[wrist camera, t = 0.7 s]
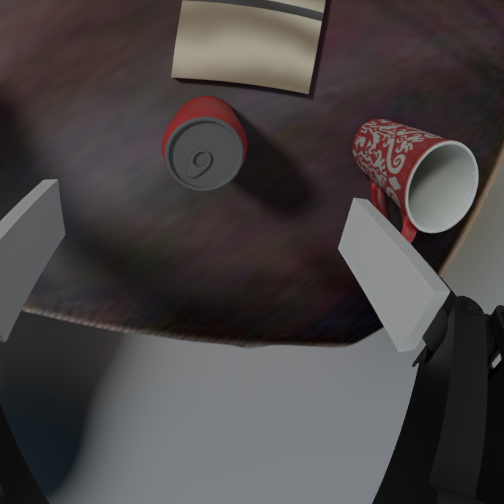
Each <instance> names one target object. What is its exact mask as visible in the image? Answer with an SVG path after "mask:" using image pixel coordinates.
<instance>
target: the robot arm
mask: <svg viewBox="0 0 504 504" xmlns="http://www.w3.org/2000/svg"><path fill="white" fill-rule="evenodd" d="M64 236H65V229H64V222H63V216H62V208H61V201H60V193H59V183H58V179H49V180H43V181H42V182H41V183H39V184H38V185H37V186H36V187H35V188H34V189H33V190H32V191H31V192H30V193H28V194H27V195H26V196H25V197H24V198H23V199H22V200H21V201H20V202H19V203H18V204H17V205H16V206H15V207H14V208H13V209H12V210H11V211H10V212H9V213H8V214H7V215H6V216H5V217H4V218H3V219H2V220H1V221H0V341H2V342H6V340H7V338H8V335H9V333H10V331H11V329H12V327H13V325H14V323H15V321H16V319H17V317H18V315H19V313H20V311H21V309H22V307H23V306H24V304H25V302H26V300H27V298H28V296H29V294H30V292H31V291H32V289H33V287H34V285H35V284H36V282H37V280H38V278H39V277H40V275H41V273H42V271H43V270H44V268H45V266H46V265H47V263H48V261H49V260H50V258H51V257H52V255H53V253H54V252H55V250H56V249H57V247H58V246H59V244H60V242H61V241H62V239H63V238H64ZM338 250H339V251H340V253H341V254H342V256H343V258H344V259H345V261H346V262H347V264H348V266H349V267H350V269H351V271H352V272H353V274H354V276H355V277H356V279H357V281H358V282H359V284H360V286H361V287H362V289H363V291H364V292H365V294H366V296H367V297H368V299H369V301H370V303H371V304H372V306H373V308H374V309H375V311H376V313H377V315H378V316H379V318H380V320H381V322H382V324H383V325H384V327H385V329H386V331H387V333H388V334H389V336H390V338H391V340H392V342H393V343H394V345H395V347H396V349H397V351H398V352H404V351H410V350H414V349H415V348H416V346H417V345H418V343H419V342H420V340H421V339H422V338H423V340H424V341H425V343H426V346H425V347H424V349H423V350H422V352H421V353H420V355H419V356H418V357H417V359H416V360H415V361H414V363H413V365H412V366H413V367H415V365H416V364H417V363H419V367H418V371H417V375H416V380H415V383H414V387H413V391H412V395H411V398H410V402H409V406H408V409H407V412H406V416H405V419H404V422H403V426H402V429H401V432H400V435H399V438H398V441H397V444H396V447H395V449H394V452H393V455H392V457H391V460H390V463H389V465H388V468H387V471H386V473H385V476H384V478H383V481H382V483H381V485H380V487H379V490H378V492H377V494H376V496H375V499H374V501H373V503H372V504H504V306H502V305H499V306H497V307H496V308H495V310H494V312H493V313H492V315H488V314H484V312H483V310H482V308H481V307H480V306H479V305H478V304H477V303H476V302H475V301H473V300H472V299H470V298H468V297H465V296H458V297H457V296H456V295H455V294H454V293H453V291H452V290H451V289H450V288H449V287H448V285H447V284H446V283H445V282H444V280H443V279H442V278H441V277H439V274H438V273H437V272H436V271H435V270H433V267H432V266H431V265H430V264H429V263H428V262H427V261H426V260H425V259H424V258H422V257H421V256H420V254H419V253H418V252H417V251H416V250H415V249H414V248H413V247H412V246H411V244H410V243H409V242H408V241H407V240H406V239H405V238H404V237H403V236H402V235H401V234H400V232H399V231H398V230H397V229H396V228H395V227H394V226H393V225H392V224H391V223H390V222H389V221H388V220H387V219H386V218H385V217H384V216H383V215H382V214H381V213H380V212H379V211H378V210H377V209H376V208H375V207H374V206H373V205H372V204H371V203H370V202H369V201H368V200H366V199H358V198H353V202H352V205H351V208H350V212H349V215H348V218H347V222H346V225H345V228H344V231H343V234H342V238H341V241H340V244H339V247H338ZM499 354H501V361H500V362H499V363H498V365H497V366H496V367H495V368H494V369H493V367H492V362H493V361H494V360H495V359H496V358H497V356H498V355H499ZM0 504H50V503H49V502H48V500H47V499H46V497H45V495H44V494H43V492H42V490H41V489H40V487H39V485H38V483H37V482H36V480H35V478H34V476H33V474H32V473H31V471H30V469H29V467H28V465H27V463H26V461H25V459H24V457H23V455H22V453H21V451H20V449H19V447H18V445H17V442H16V440H15V438H14V436H13V433H12V431H11V429H10V427H9V424H8V421H7V419H6V416H5V414H4V411H3V409H2V406H1V403H0Z"/></svg>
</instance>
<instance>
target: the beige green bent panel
mask: <svg viewBox="0 0 504 504" xmlns="http://www.w3.org/2000/svg"><path fill="white" fill-rule="evenodd" d="M325 1H326V0H183V2H182V7H181V13H180V19H179V25H178V31H177V38H176V45H175V52H174V59H173V67H172V76H171V78H191V79H205V80H217V81H227V82H236V83H244V84H252V85H259V86H266V87H272V88H278V89H284V90H290V91H295V92H300V93H306V94H309V89H310V83H311V78H312V73H313V68H314V62H315V57H316V52H317V46H318V41H319V35H320V29H321V24H322V20H323V14H324V7H325Z"/></svg>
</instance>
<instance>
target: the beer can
mask: <svg viewBox="0 0 504 504" xmlns="http://www.w3.org/2000/svg"><path fill="white" fill-rule="evenodd" d="M247 147H248V143H247V138H246V133H245V131H244V129H243V127H242V125H241V124H240V122H239V120H238V118H237V116H236V115H235V113H234V111H233V110H232V108H231V106H229V105H228V104H227V103H226V102H225V101H224V100H221V99H219V98H216V97H214V96H201V97H197V98H193V99H192V100H190V101H188V102H187V103H185V104H184V105H183V106H182V107H181V109H180V110H179V111H178V112H177V114H176V115H175V117H174V118H173V120H172V121H171V122H170V124H169V125H168V127H167V129H166V132H165V134H164V137H163V142H162V154H163V157H164V161H165V164H166V167H167V168H168V171H169V172H170V174H171V175H172V177H173V178H174V179H175V180H176V181H177V182H178V183H180V184H181V185H182V186H184V187H186V188H189V189H191V190H194V191H206V192H207V191H212V190H216V189H219V188H221V187H223V186H225V185H227V184H228V183H230V182H231V181H232V180H233V179H234V178H235V176H236V175H237V174H238V172H239V171H240V169H241V167H242V165H243V163H244V161H245V158H246V154H247Z"/></svg>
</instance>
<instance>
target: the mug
mask: <svg viewBox="0 0 504 504" xmlns="http://www.w3.org/2000/svg"><path fill="white" fill-rule="evenodd" d="M352 151H353V157H354V160H355V162H356V164H357V166H358V167H359V168H360V169H361V170H362V171H363V172H364V173H365V174H366V175H367V176H369V180H370V187H371V199H372V205H373V206H374V207H375V208H376V209H377V210H378V211H379V212H380V213H381V214H382V215H383V216H384V217H385V218H386V219H387V220H388V215H387V211H386V205H385V198H384V192H385V193H386V194H387V195H388V196H389V197H390V198H391V199H392V200H393V201H394V202H395V203H396V204H397V205H398V206H399V210H400V213H401V215H402V230H401V233H400V234H401V235H402V236H403V237H404V238H405V239H406V240H407V241H408V242H409V243H410V244H411V243H412V241H413V240H414V238H415V236H416V233H417V229H419V230H420V231H423V232H426V233H438V232H442V231H445V230H447V229H449V228H451V227H452V226H454V225H455V224H456V223H458V222H459V221H460V220H461V219H462V218H463V216H464V215H465V214H466V212H467V211H468V209H469V208H470V206H471V204H472V202H473V200H474V197H475V194H476V190H477V186H478V167H477V163H476V160H475V157H474V155H473V154H472V152H471V151H470V150H469V149H468V148H467V146H465V145H464V144H462V143H460V142H458V141H454V140H447V139H444V138H441V137H439V136H436V135H433V134H430V133H427V132H424V131H421V130H418V129H415V128H412V127H409V126H406V125H402V124H399V123H395V122H393V121H389V120H385V119H373V120H370V121H368V122H366V123H365V124H364V125H362V126H361V127H360V128H359V130H358V131H357V133H356V135H355V137H354V140H353V146H352ZM388 221H389V220H388Z"/></svg>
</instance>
